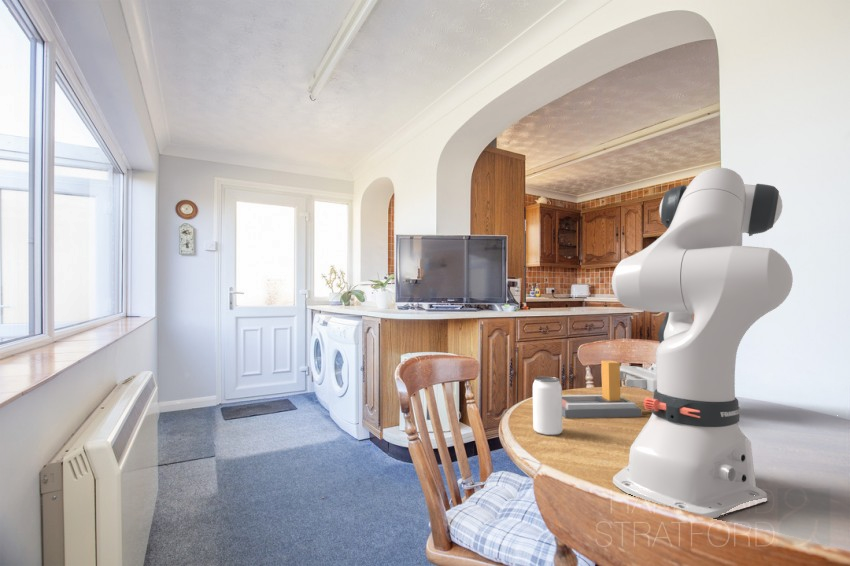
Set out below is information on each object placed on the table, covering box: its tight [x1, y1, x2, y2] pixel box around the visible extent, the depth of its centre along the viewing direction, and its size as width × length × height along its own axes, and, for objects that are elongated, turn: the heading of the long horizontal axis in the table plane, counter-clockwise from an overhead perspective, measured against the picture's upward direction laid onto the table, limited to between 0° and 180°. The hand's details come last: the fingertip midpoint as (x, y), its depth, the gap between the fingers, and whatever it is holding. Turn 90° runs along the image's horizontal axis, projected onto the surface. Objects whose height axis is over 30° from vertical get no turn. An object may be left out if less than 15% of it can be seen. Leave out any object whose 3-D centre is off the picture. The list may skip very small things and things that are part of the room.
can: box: [532, 375, 563, 437], centre depth 91 cm, size 6×6×12 cm
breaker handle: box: [597, 359, 626, 403], centre depth 107 cm, size 5×6×11 cm
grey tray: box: [562, 394, 643, 419], centre depth 107 cm, size 20×11×3 cm, turn 92°
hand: (615, 378), depth 108 cm, fingers open, 8 cm apart
